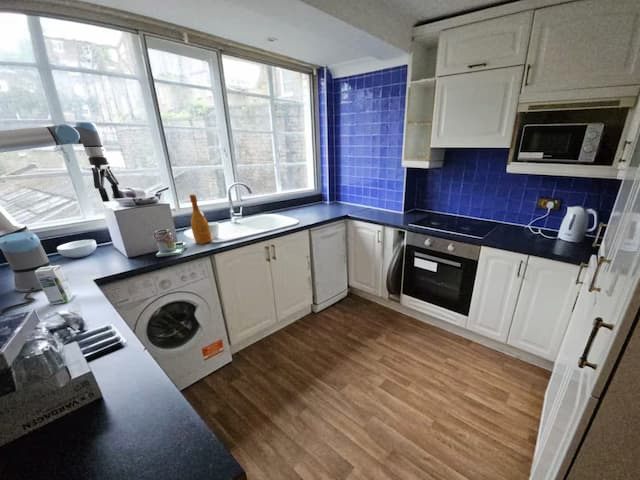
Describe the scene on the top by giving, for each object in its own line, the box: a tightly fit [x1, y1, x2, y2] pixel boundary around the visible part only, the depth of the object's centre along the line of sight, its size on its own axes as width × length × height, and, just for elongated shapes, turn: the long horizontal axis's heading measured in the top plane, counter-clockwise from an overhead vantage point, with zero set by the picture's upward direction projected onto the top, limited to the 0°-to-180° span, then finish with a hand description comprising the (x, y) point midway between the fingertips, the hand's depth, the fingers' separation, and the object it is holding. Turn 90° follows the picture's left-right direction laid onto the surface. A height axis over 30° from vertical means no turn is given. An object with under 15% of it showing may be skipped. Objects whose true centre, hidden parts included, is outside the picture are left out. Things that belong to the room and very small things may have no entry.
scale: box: [155, 242, 187, 258], centre depth 172 cm, size 14×13×3 cm
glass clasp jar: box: [152, 228, 176, 253], centre depth 167 cm, size 9×8×12 cm
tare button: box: [174, 240, 184, 246], centre depth 175 cm, size 4×4×2 cm
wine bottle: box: [189, 194, 213, 245], centre depth 182 cm, size 10×10×30 cm
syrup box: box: [34, 264, 74, 306], centre depth 116 cm, size 6×6×14 cm
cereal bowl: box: [56, 239, 98, 259], centre depth 168 cm, size 17×17×7 cm
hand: (112, 199), depth 156 cm, fingers open, 13 cm apart
